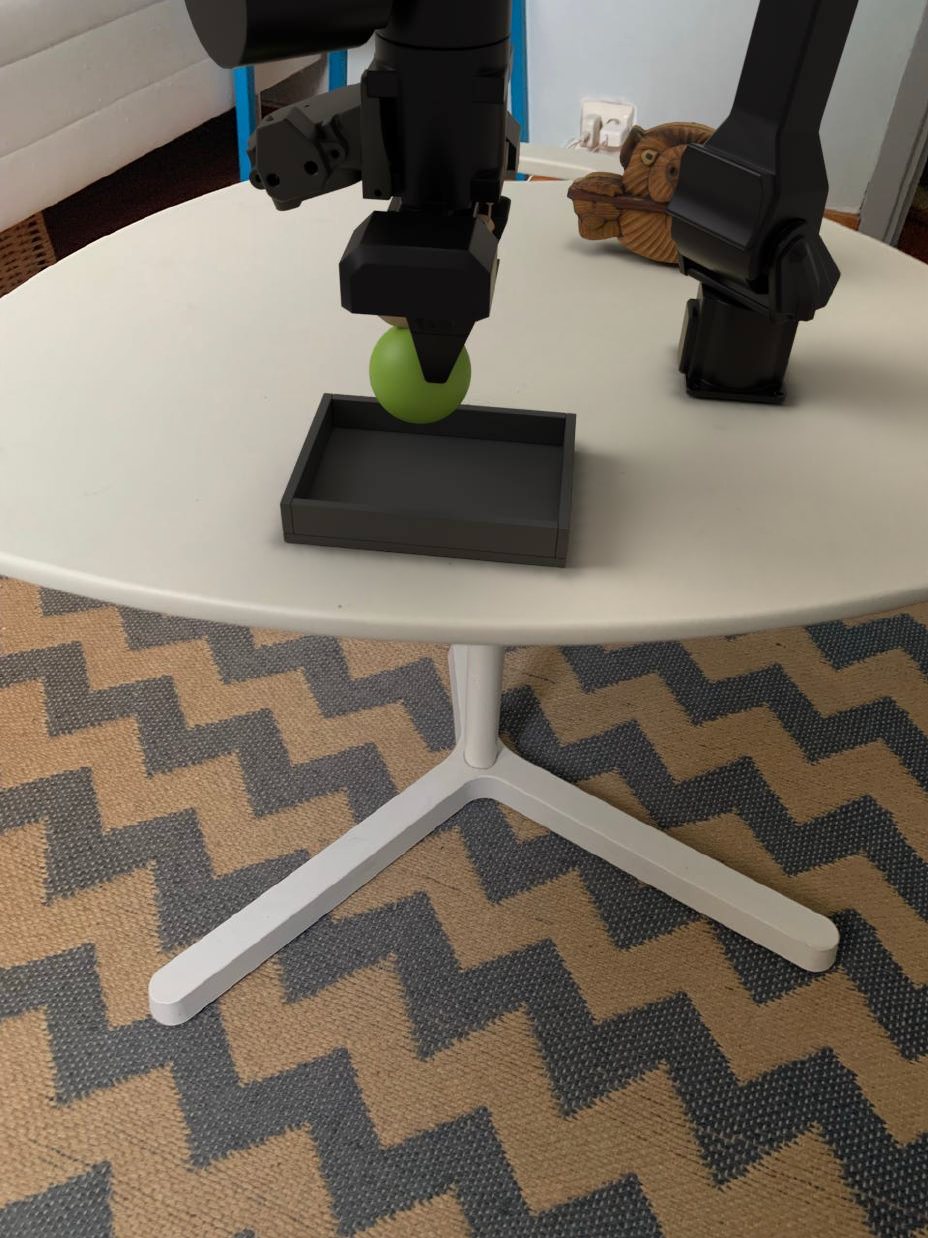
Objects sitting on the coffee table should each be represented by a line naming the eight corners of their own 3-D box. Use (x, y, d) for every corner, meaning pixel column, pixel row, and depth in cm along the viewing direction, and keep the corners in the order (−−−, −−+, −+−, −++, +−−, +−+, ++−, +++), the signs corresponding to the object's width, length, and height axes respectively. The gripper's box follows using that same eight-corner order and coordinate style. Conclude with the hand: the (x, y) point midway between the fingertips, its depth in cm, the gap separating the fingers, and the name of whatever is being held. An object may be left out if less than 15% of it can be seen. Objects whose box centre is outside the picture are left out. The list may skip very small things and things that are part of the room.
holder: (572, 449, 64) (576, 412, 62) (565, 567, 55) (570, 529, 54) (326, 429, 65) (323, 392, 63) (283, 542, 56) (279, 503, 55)
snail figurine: (491, 441, 55) (499, 209, 48) (369, 442, 55) (358, 209, 48) (485, 394, 60) (492, 173, 52) (372, 394, 59) (362, 173, 52)
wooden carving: (558, 258, 83) (570, 126, 77) (566, 235, 87) (578, 107, 80) (767, 283, 81) (799, 150, 74) (768, 259, 84) (798, 129, 78)
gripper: (302, -30, 51) (324, 275, 62) (188, 88, 38) (241, 453, 48) (530, -19, 50) (512, 288, 61) (497, 107, 37) (481, 472, 48)
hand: (440, 364), depth 54 cm, fingers closed on snail figurine, 3 cm apart
